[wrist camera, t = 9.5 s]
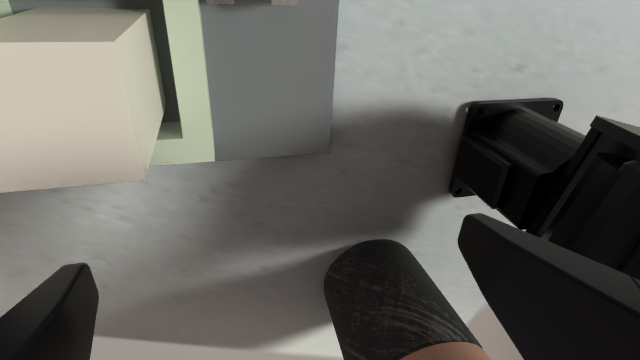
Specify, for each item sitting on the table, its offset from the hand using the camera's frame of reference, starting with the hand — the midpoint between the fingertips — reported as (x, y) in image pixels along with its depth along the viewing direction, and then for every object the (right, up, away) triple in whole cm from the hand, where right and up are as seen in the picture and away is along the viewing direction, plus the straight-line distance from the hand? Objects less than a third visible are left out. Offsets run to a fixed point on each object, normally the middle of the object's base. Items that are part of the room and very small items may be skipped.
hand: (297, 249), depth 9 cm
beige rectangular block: (-8, +7, +7) cm, 13 cm away
